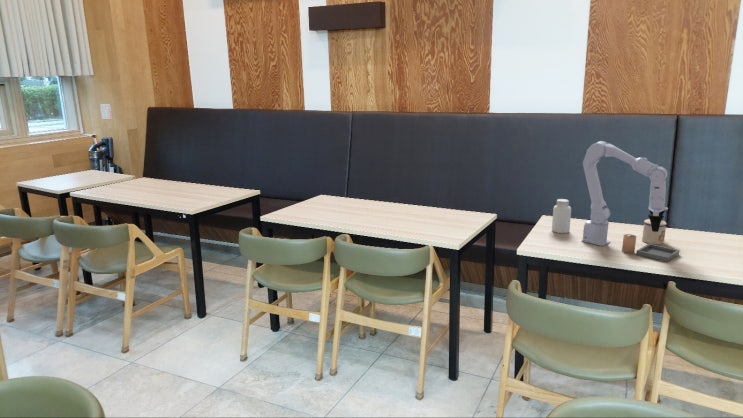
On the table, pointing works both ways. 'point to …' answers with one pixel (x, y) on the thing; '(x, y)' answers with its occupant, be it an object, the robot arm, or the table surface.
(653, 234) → the teacup with lid
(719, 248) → the table surface
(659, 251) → the charcoal tray
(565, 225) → the pill bottle
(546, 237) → the table surface
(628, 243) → the terracotta cup
